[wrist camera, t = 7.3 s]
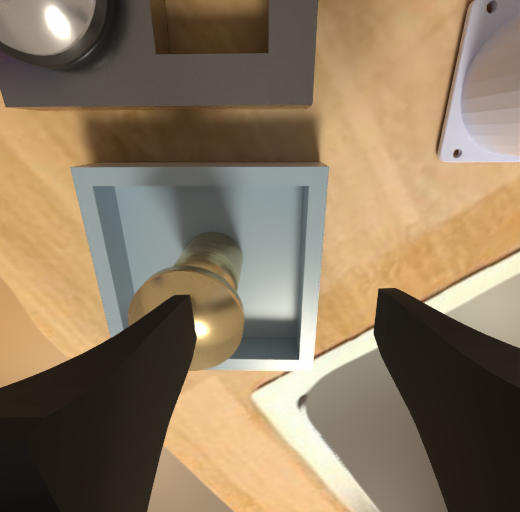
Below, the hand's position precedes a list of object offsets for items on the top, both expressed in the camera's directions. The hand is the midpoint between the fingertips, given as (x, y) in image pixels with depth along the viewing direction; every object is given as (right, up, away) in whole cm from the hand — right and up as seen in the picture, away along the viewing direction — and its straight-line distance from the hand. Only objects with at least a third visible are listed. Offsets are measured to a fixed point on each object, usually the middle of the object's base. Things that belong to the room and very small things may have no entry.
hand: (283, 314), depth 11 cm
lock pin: (-4, +2, +9) cm, 10 cm away
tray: (-4, +2, +10) cm, 11 cm away
